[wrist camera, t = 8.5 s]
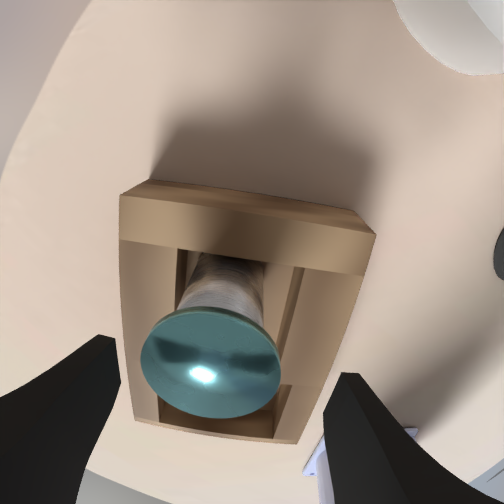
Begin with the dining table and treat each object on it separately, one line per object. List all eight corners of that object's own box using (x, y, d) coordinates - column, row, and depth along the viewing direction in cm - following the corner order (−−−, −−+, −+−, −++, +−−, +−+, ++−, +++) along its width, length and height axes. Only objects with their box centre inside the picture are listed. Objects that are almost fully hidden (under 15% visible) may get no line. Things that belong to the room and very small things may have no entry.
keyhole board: (353, 210, 17) (376, 234, 13) (293, 404, 22) (296, 444, 19) (148, 179, 16) (119, 195, 13) (148, 383, 22) (134, 420, 18)
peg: (283, 240, 16) (298, 332, 9) (263, 316, 18) (263, 426, 11) (191, 222, 16) (140, 302, 9) (182, 301, 18) (142, 403, 11)
